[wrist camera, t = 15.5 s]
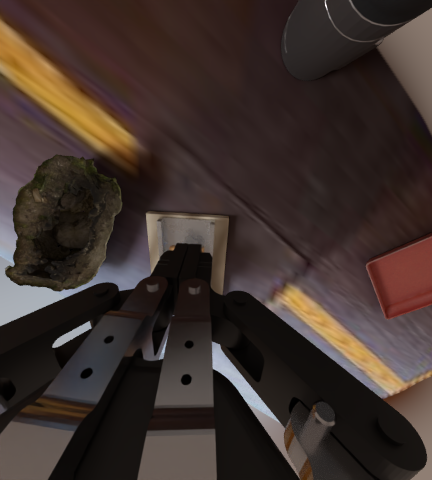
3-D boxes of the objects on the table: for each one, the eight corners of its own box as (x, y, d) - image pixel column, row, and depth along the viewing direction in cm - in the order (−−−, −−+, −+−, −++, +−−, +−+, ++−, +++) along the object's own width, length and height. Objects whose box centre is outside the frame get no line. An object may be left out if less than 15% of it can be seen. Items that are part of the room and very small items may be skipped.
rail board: (228, 215, 42) (229, 218, 41) (221, 301, 51) (221, 306, 50) (148, 211, 42) (145, 213, 40) (155, 297, 51) (154, 302, 50)
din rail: (214, 220, 41) (214, 224, 38) (210, 303, 50) (209, 311, 47) (160, 216, 41) (156, 221, 38) (165, 301, 50) (162, 308, 47)
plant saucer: (377, 311, 52) (387, 321, 49) (356, 256, 46) (365, 265, 43) (460, 280, 48) (476, 289, 45) (449, 215, 41) (467, 221, 38)
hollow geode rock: (123, 150, 42) (23, 103, 29) (151, 186, 36) (40, 146, 23) (70, 251, 51) (-23, 248, 38) (86, 293, 45) (-18, 305, 33)
